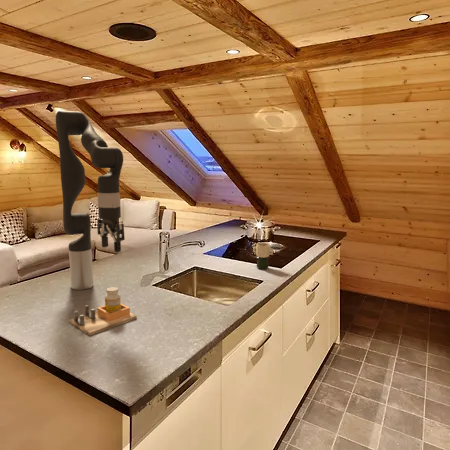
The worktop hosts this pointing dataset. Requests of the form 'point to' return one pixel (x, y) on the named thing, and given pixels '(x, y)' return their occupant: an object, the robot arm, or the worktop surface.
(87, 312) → the set of grey pegs
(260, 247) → the character mug
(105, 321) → the board
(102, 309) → the box
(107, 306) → the supplement bottle
